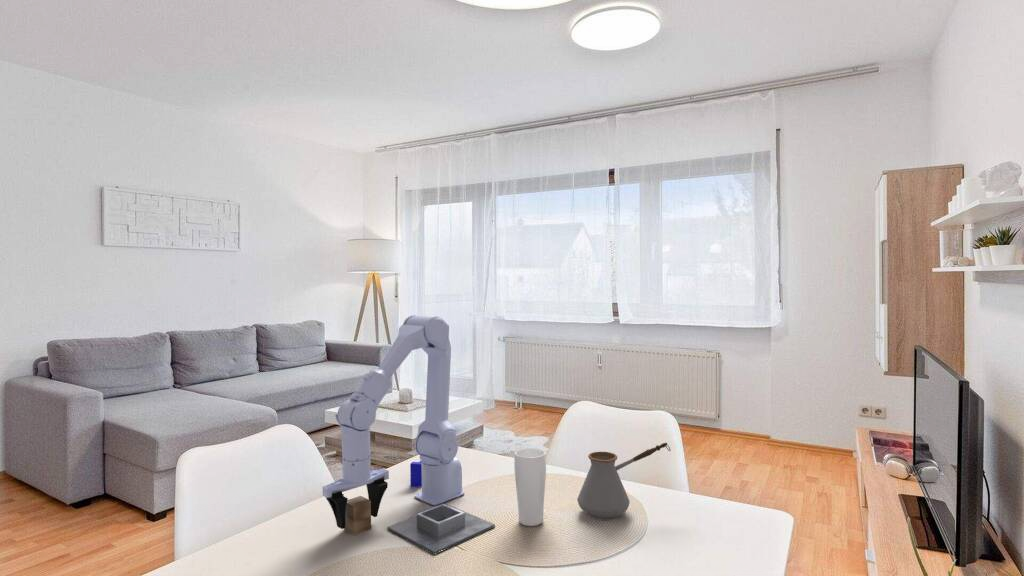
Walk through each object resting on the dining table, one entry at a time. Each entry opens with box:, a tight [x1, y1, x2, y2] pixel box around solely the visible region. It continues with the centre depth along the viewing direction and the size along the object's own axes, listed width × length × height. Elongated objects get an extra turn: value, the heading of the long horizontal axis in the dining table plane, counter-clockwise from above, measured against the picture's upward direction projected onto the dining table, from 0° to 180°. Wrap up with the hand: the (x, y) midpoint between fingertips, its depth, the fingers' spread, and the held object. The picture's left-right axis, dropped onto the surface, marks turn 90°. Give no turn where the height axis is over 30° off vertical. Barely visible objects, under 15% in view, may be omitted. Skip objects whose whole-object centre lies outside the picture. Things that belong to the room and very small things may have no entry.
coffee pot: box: [576, 442, 671, 521], centre depth 124 cm, size 21×12×15 cm, turn 98°
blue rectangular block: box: [409, 460, 422, 488], centre depth 147 cm, size 12×4×6 cm, turn 169°
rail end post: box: [343, 495, 372, 536], centre depth 117 cm, size 4×4×6 cm
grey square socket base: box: [386, 503, 496, 555], centre depth 117 cm, size 16×16×3 cm
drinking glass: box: [514, 447, 547, 527], centre depth 119 cm, size 7×7×15 cm
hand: (357, 521), depth 117 cm, fingers open, 7 cm apart
